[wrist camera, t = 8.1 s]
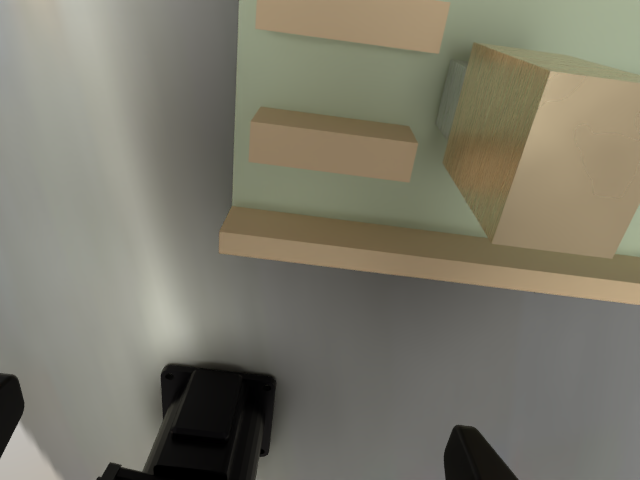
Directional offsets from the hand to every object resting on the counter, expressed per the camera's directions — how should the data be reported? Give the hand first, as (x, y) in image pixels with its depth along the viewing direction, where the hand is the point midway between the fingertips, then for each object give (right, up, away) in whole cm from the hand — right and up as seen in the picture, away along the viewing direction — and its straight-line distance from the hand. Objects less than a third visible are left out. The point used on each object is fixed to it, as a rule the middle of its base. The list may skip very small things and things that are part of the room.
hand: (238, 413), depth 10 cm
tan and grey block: (+12, +9, +8) cm, 17 cm away
